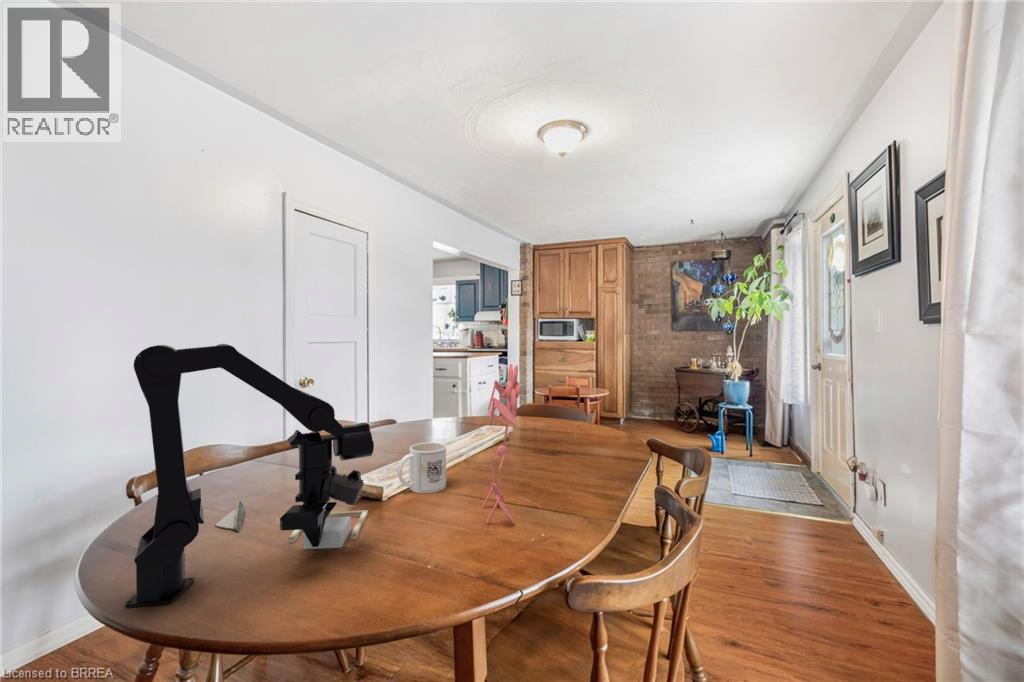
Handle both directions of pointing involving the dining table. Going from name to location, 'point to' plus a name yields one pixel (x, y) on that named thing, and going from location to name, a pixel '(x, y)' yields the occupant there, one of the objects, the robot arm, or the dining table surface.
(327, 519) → the pale blue eraser block
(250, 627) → the dining table surface
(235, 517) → the ceramic fragment
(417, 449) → the mug
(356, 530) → the tile bay
